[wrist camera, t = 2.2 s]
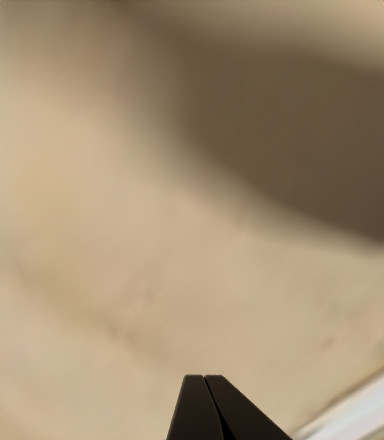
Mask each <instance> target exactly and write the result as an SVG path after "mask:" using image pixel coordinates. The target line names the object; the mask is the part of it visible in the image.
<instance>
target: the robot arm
mask: <svg viewBox="0 0 384 440" xmlns="http://www.w3.org/2000/svg"><path fill="white" fill-rule="evenodd" d="M166 440H293V439H291V438H290V437H289V436H288V435H287V434H286V433H285V432H284V431H283V430H282V429H281V428H279V427H278V426H277V425H276V424H275V423H274V422H273V421H272V420H271V419H270V418H269V417H267V416H266V415H265V414H264V413H263V412H262V411H261V410H260V409H259V408H258V407H256V406H255V405H254V404H253V403H252V402H251V401H250V400H249V399H248V398H247V397H246V396H244V395H243V394H242V393H241V392H240V391H239V390H238V389H237V388H236V387H235V386H234V385H232V384H231V383H230V382H229V381H228V380H227V379H226V378H225V377H223V376H222V375H205V376H204V377H203V376H202V375H185V376H184V379H183V382H182V386H181V389H180V393H179V396H178V400H177V403H176V407H175V411H174V414H173V418H172V421H171V425H170V428H169V432H168V435H167V439H166Z"/></svg>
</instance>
